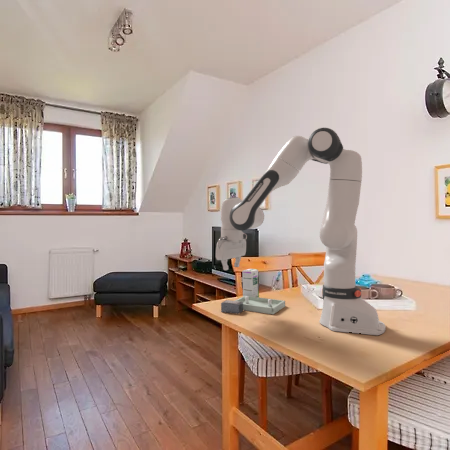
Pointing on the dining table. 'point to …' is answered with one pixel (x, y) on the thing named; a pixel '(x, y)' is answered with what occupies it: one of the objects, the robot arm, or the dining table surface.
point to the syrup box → (250, 283)
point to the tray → (261, 304)
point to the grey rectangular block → (232, 306)
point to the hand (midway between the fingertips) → (231, 268)
